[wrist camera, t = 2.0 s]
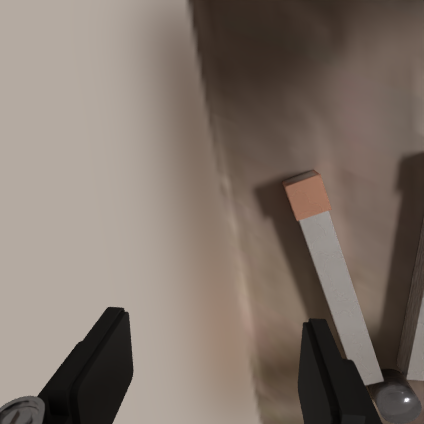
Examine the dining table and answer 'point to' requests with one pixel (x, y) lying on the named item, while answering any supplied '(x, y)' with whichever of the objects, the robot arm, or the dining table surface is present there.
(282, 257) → the dining table surface
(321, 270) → the arm
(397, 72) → the dining table surface
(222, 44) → the dining table surface
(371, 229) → the dining table surface
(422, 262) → the base
